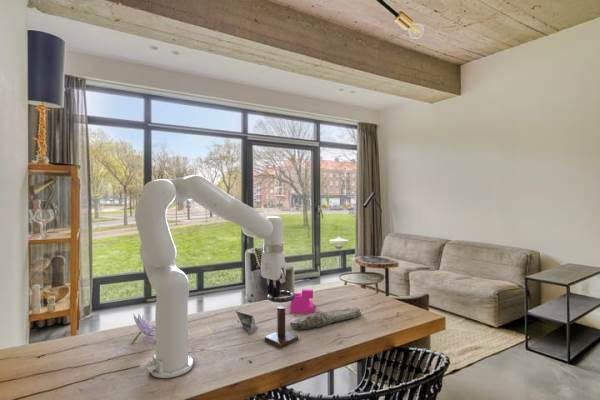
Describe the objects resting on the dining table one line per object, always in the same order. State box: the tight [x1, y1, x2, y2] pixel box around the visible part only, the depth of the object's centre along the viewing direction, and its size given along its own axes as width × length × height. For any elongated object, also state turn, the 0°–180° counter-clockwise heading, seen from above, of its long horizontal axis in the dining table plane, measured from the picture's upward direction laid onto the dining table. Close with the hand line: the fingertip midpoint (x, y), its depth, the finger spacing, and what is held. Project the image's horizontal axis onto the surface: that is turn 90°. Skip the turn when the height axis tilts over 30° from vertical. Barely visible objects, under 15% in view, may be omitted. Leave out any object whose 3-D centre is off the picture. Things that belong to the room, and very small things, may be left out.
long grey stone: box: [289, 307, 362, 330], centre depth 138 cm, size 35×5×10 cm
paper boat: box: [235, 311, 257, 335], centre depth 131 cm, size 12×6×9 cm
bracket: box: [290, 288, 314, 314], centre depth 155 cm, size 12×10×10 cm
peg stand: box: [264, 305, 299, 349], centre depth 121 cm, size 9×9×12 cm
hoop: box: [267, 290, 295, 303], centre depth 121 cm, size 10×10×2 cm
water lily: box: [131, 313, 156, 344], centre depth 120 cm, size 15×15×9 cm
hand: (274, 295), depth 124 cm, fingers closed on hoop, 2 cm apart
